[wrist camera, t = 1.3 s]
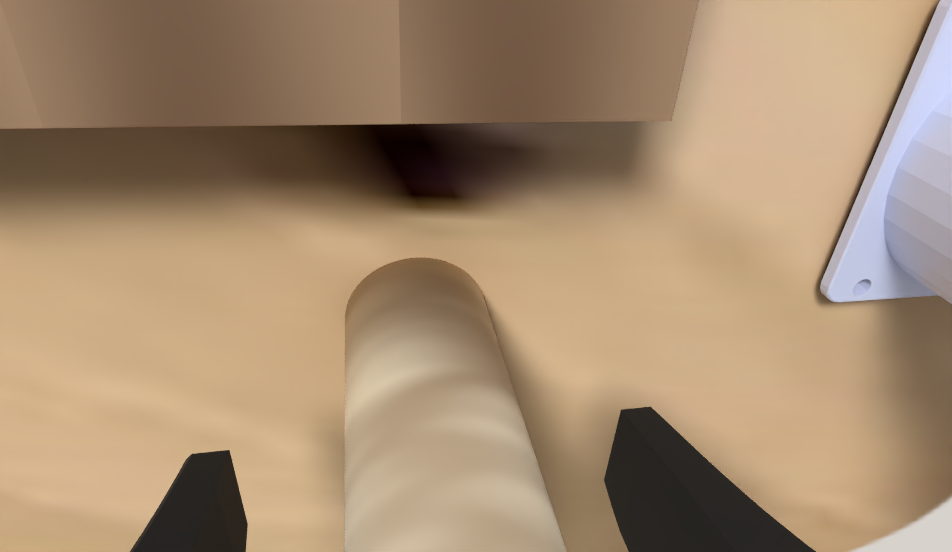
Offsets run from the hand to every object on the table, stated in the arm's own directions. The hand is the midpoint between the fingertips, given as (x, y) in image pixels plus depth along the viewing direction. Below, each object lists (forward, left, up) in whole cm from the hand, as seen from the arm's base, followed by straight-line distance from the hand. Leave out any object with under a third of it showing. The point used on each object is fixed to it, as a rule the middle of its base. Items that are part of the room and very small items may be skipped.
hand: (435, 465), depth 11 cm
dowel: (0, 0, -5) cm, 5 cm away
